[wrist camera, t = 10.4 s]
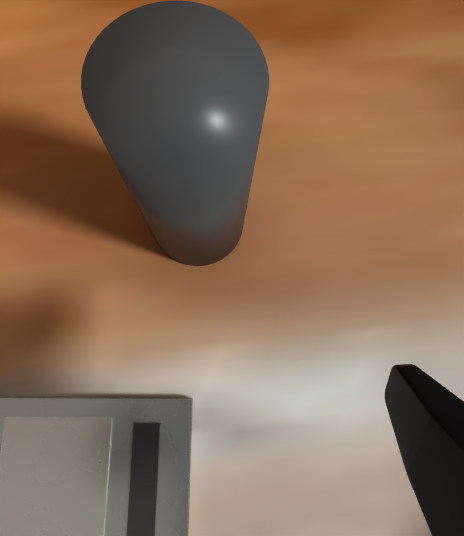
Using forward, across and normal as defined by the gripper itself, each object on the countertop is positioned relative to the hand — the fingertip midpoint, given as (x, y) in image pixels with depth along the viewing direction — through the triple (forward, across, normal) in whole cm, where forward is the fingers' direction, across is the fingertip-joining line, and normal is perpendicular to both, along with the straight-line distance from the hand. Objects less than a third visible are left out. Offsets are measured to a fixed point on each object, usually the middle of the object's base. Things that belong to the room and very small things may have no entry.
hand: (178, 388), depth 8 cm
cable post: (+13, 0, +2) cm, 14 cm away
